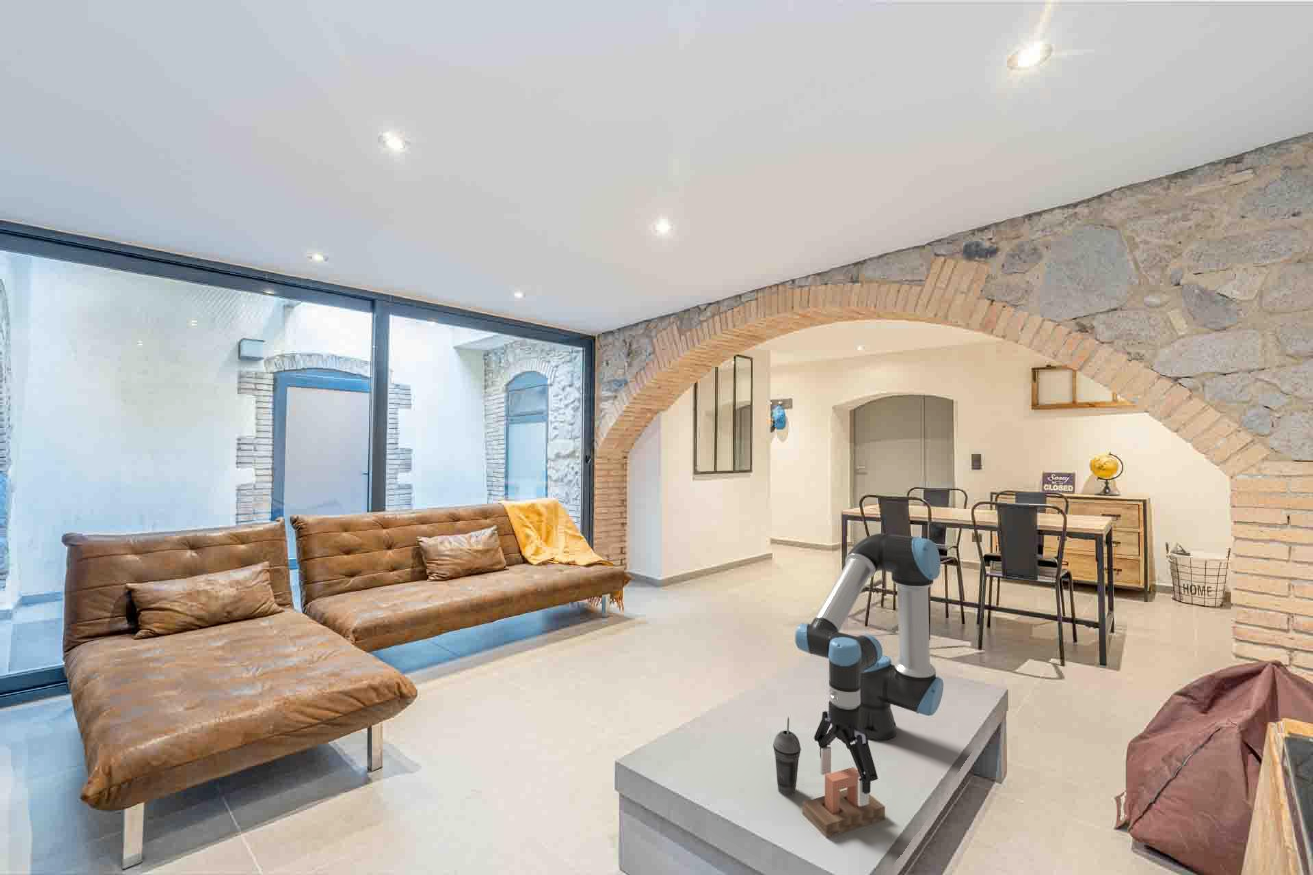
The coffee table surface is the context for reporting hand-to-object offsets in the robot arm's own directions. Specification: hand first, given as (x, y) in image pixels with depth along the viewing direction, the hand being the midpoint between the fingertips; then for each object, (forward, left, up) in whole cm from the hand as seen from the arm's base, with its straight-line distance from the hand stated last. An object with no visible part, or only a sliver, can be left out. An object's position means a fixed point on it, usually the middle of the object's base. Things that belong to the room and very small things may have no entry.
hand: (843, 788), depth 141 cm
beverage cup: (+7, -14, -7) cm, 17 cm away
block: (0, 0, -7) cm, 7 cm away
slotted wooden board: (0, 0, -7) cm, 7 cm away
